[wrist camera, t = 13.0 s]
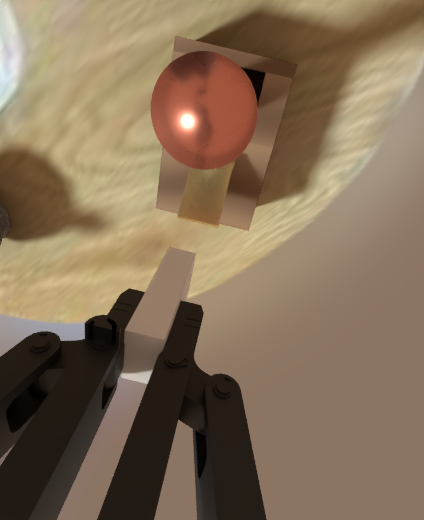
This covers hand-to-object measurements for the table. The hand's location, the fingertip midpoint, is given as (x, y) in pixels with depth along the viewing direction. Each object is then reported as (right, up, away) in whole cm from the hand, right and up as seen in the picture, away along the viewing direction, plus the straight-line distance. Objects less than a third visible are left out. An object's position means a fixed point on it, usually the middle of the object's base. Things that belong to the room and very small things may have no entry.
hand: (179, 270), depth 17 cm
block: (+3, +11, +10) cm, 15 cm away
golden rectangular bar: (+1, +6, +6) cm, 8 cm away
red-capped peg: (+3, +14, +8) cm, 17 cm away
